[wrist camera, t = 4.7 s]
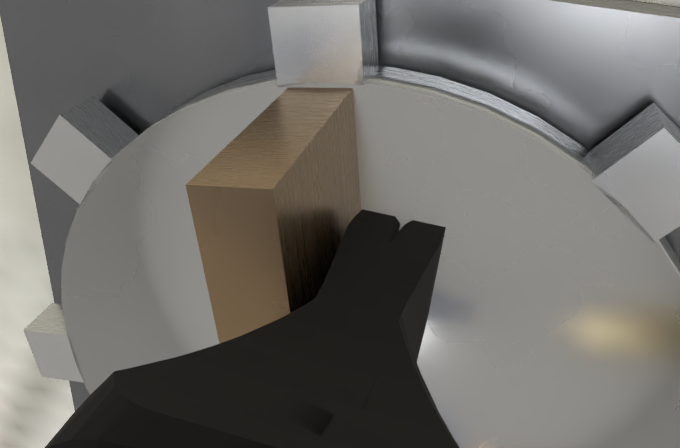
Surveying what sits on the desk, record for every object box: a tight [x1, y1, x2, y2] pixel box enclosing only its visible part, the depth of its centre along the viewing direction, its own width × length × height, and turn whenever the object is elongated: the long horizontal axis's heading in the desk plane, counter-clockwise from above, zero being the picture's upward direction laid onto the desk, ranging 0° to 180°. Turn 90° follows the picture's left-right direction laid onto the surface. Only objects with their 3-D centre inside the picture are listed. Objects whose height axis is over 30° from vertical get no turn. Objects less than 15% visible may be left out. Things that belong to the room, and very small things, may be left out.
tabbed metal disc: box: [24, 0, 680, 448], centre depth 14 cm, size 18×18×5 cm
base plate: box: [0, 0, 680, 411], centre depth 17 cm, size 18×18×1 cm
